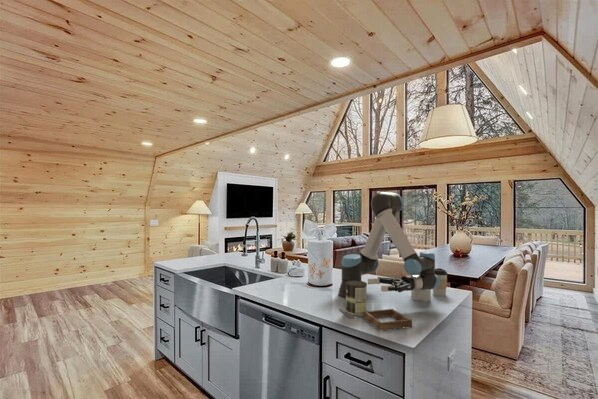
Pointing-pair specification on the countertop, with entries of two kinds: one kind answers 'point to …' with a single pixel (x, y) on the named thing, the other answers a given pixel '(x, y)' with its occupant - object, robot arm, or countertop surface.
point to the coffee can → (356, 297)
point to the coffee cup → (441, 282)
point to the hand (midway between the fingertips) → (374, 285)
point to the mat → (350, 314)
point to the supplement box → (421, 294)
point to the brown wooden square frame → (391, 324)
